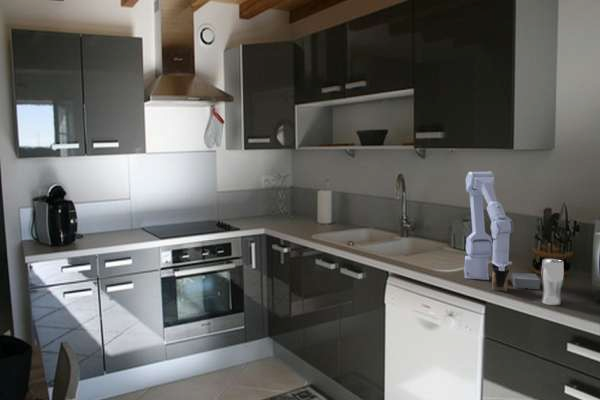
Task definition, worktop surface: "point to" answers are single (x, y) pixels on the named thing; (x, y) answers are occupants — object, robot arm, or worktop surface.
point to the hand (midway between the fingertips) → (499, 284)
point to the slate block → (525, 280)
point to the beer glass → (552, 280)
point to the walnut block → (494, 284)
